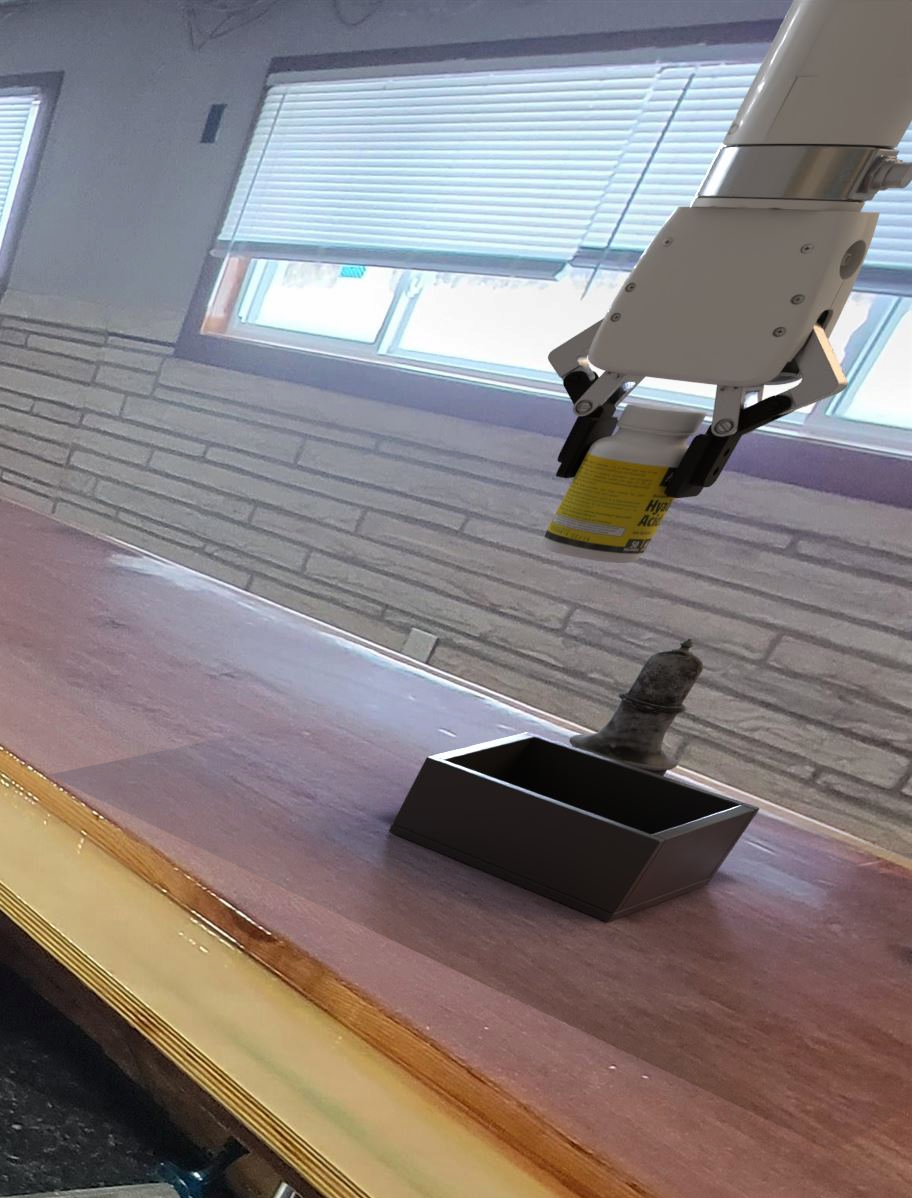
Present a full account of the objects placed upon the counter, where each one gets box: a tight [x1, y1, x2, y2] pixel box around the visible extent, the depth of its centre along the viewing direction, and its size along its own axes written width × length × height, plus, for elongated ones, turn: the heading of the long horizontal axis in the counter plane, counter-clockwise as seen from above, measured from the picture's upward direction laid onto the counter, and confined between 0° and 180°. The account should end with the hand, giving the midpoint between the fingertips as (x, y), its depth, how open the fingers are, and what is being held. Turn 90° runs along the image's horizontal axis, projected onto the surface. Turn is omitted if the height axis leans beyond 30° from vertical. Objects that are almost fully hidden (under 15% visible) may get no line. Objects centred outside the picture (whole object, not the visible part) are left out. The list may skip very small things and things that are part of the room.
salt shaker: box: [569, 638, 704, 777], centre depth 86 cm, size 6×6×12 cm
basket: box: [388, 731, 760, 923], centre depth 79 cm, size 12×12×6 cm
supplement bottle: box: [540, 403, 707, 564], centre depth 83 cm, size 5×5×10 cm
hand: (626, 483), depth 83 cm, fingers closed on supplement bottle, 5 cm apart
